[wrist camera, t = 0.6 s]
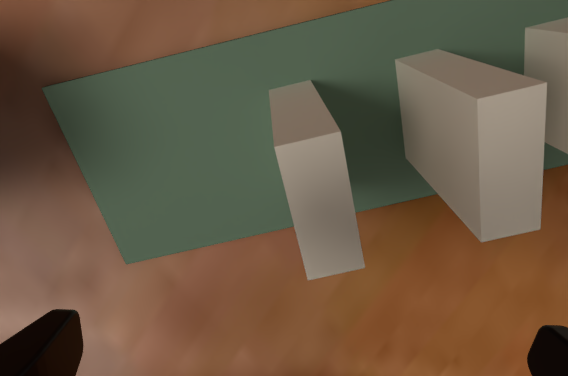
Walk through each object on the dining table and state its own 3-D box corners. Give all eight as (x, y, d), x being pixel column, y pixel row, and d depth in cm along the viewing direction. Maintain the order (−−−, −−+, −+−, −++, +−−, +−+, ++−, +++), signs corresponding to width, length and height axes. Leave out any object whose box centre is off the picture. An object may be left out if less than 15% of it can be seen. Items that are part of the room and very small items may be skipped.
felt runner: (708, 129, 22) (714, 131, 22) (127, 261, 23) (126, 264, 23) (758, -92, 18) (766, -93, 17) (44, 86, 19) (41, 88, 19)
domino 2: (444, 149, 21) (540, 229, 14) (405, 157, 21) (481, 242, 14) (437, 49, 19) (547, 82, 12) (394, 59, 19) (477, 99, 12)
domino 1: (329, 175, 21) (364, 267, 14) (291, 184, 22) (307, 280, 14) (310, 79, 19) (340, 131, 12) (268, 90, 19) (274, 147, 12)
